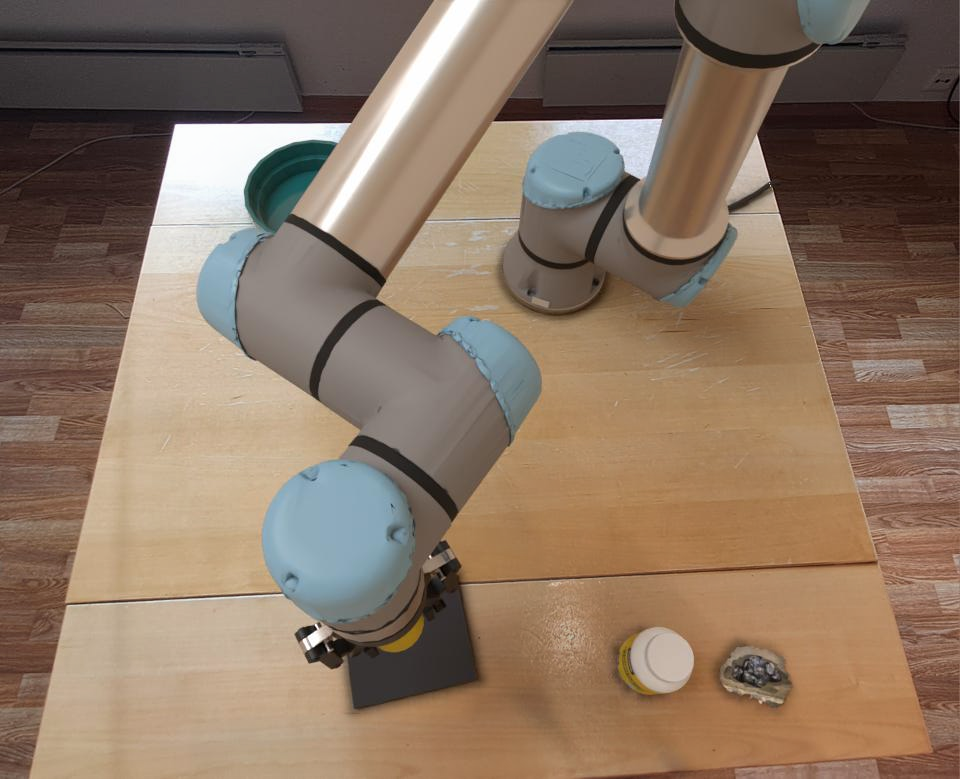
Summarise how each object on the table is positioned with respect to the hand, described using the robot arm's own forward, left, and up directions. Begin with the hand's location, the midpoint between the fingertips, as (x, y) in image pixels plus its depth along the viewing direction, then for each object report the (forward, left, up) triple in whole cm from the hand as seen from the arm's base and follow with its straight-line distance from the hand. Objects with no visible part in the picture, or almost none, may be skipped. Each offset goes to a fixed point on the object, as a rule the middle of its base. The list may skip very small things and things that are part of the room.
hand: (397, 625), depth 68 cm
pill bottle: (-26, +8, -13) cm, 30 cm away
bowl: (+3, -65, -13) cm, 66 cm away
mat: (0, 0, -13) cm, 13 cm away
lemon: (0, 0, -1) cm, 1 cm away
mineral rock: (-38, +12, -13) cm, 42 cm away
